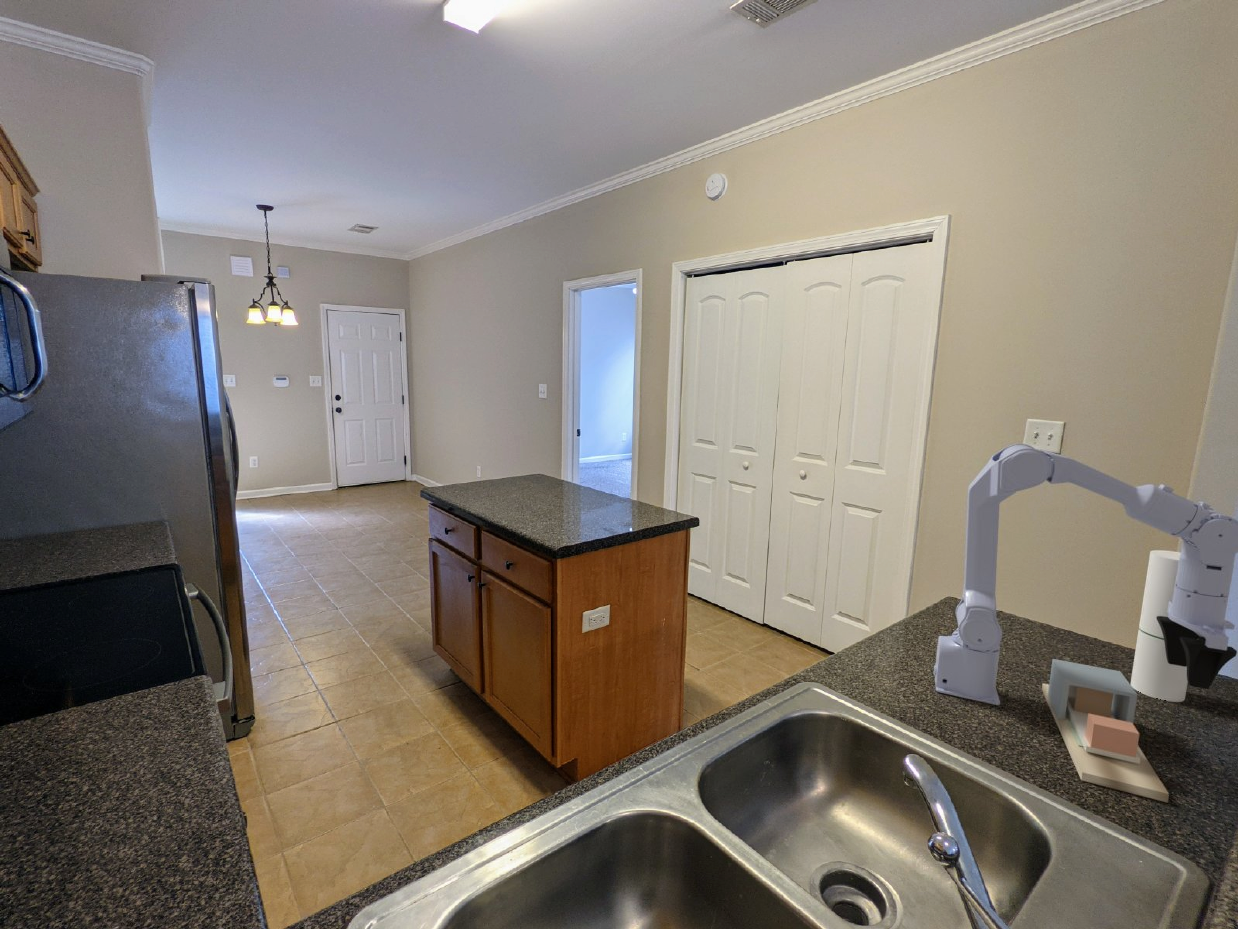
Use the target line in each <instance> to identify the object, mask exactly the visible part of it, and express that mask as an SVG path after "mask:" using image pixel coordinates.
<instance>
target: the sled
mask: <svg viewBox="0 0 1238 929" xmlns="http://www.w3.org/2000/svg"><path fill="white" fill-rule="evenodd" d="M1113 694H1114V693H1109V692H1104V691H1099V690H1094V689H1089V688H1084V687H1079V686H1074V685H1069V692H1068V699H1067V706H1066V711H1067V714H1068V716H1069V718H1070V720H1071V722H1072V724H1073V726H1074V728H1075V730H1076V732H1077V734H1078V736H1079V738H1080V740H1081V742H1082V745H1083V747H1084V749H1085V751H1087V752H1091V753H1095V754H1100V755H1104V756H1108V757H1112V758H1116V759H1120V760H1125V761H1129V762H1133V763H1137V764H1140V757H1139V756H1138V754H1137V747H1138V746H1139V738H1140V732H1139V731H1138V730H1137V728H1136V726H1135V725H1134V722H1133V723H1131V722H1126V721H1122V720H1117V719H1115V717H1114V716H1113V714H1112V712H1111V708H1112V701H1113Z"/></svg>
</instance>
